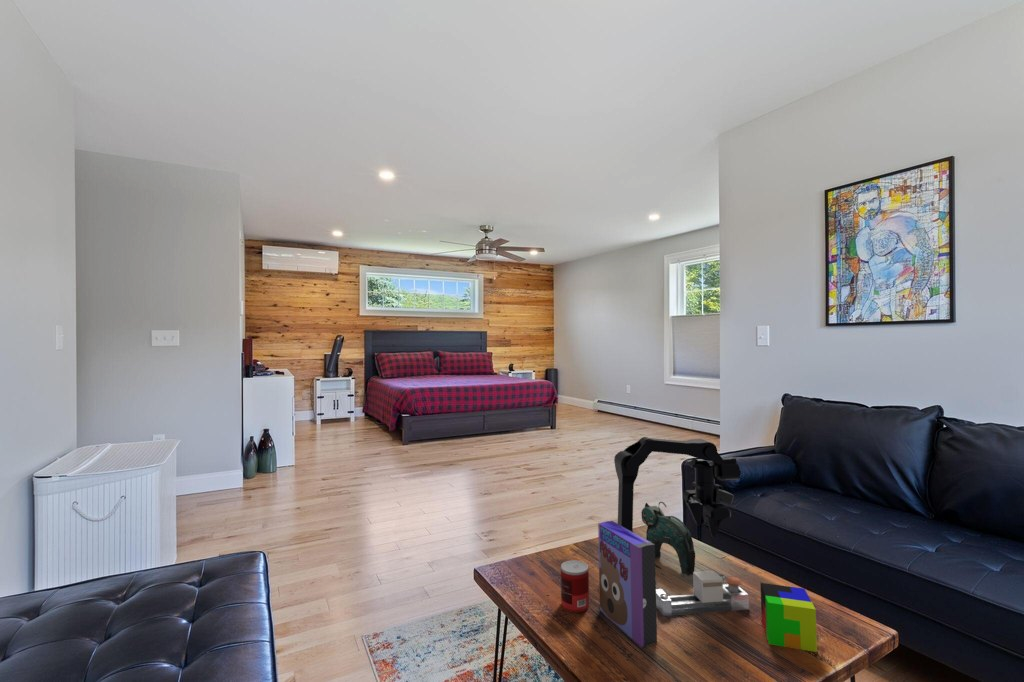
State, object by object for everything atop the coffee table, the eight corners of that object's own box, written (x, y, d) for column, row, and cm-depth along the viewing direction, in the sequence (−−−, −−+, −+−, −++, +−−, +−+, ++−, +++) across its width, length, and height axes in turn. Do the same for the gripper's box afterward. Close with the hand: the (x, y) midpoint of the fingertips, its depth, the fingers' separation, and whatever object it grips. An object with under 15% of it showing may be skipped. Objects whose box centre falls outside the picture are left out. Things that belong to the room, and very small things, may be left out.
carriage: (702, 603, 126) (702, 581, 126) (693, 593, 131) (693, 572, 131) (723, 601, 126) (723, 579, 126) (713, 592, 131) (713, 570, 132)
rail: (663, 615, 124) (662, 599, 124) (654, 603, 130) (653, 588, 130) (748, 609, 127) (748, 593, 127) (736, 597, 133) (735, 582, 133)
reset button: (731, 600, 128) (730, 583, 128) (724, 593, 131) (723, 576, 131) (743, 599, 128) (743, 582, 128) (736, 593, 132) (735, 576, 132)
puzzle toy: (805, 628, 118) (804, 588, 118) (817, 652, 109) (815, 609, 109) (761, 621, 121) (760, 582, 122) (769, 644, 112) (767, 602, 112)
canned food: (592, 601, 132) (591, 562, 132) (584, 616, 125) (583, 575, 125) (566, 595, 135) (565, 557, 136) (557, 609, 128) (556, 569, 128)
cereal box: (599, 610, 127) (598, 522, 128) (614, 606, 129) (612, 520, 130) (641, 647, 111) (639, 547, 112) (657, 642, 113) (654, 543, 114)
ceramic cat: (640, 554, 162) (639, 496, 162) (654, 550, 165) (652, 493, 165) (686, 578, 144) (684, 513, 145) (700, 573, 147) (699, 510, 148)
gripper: (747, 488, 136) (748, 541, 136) (713, 471, 155) (714, 518, 155) (711, 490, 135) (712, 544, 135) (681, 473, 154) (682, 520, 154)
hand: (706, 530), depth 145 cm, fingers open, 9 cm apart
